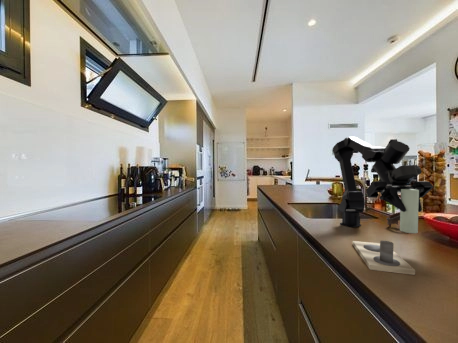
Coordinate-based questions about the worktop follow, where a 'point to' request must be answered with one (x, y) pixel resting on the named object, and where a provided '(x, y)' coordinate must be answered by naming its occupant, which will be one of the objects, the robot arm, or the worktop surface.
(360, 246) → the board
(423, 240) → the worktop surface
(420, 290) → the worktop surface
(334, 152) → the robot arm
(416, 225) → the sage pin
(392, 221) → the dark brown curved piece
